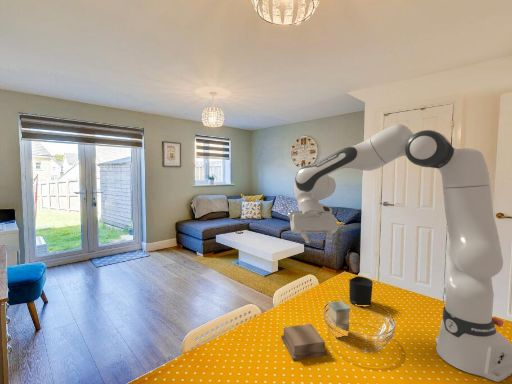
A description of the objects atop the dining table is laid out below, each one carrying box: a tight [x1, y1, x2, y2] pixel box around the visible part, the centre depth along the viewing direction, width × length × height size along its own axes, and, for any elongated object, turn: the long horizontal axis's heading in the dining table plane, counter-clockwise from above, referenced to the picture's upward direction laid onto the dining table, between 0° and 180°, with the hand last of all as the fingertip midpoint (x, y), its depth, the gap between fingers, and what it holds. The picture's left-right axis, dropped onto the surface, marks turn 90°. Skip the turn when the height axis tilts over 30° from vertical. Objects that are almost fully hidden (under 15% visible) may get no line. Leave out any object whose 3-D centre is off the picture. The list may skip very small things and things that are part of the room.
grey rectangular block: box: [327, 300, 351, 339], centre depth 93 cm, size 5×5×10 cm
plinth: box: [280, 323, 328, 361], centre depth 86 cm, size 11×11×4 cm
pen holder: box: [348, 275, 374, 306], centre depth 115 cm, size 9×9×10 cm
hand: (319, 242), depth 103 cm, fingers open, 8 cm apart
